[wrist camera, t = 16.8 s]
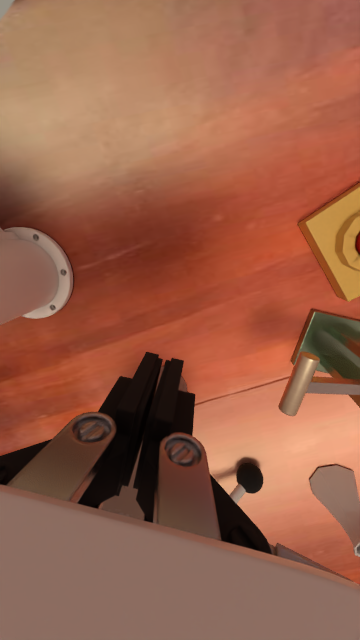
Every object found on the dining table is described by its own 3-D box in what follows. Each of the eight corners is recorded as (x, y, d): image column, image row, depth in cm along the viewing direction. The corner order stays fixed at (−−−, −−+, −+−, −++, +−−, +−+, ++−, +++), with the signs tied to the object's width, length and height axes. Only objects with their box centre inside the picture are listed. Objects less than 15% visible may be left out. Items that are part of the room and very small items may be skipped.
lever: (272, 401, 24) (288, 420, 22) (292, 348, 22) (312, 362, 20) (376, 403, 28) (398, 419, 25) (401, 358, 26) (427, 371, 24)
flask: (312, 461, 42) (343, 527, 32) (359, 465, 41) (405, 534, 32) (305, 494, 44) (332, 565, 35) (349, 499, 43) (389, 572, 34)
